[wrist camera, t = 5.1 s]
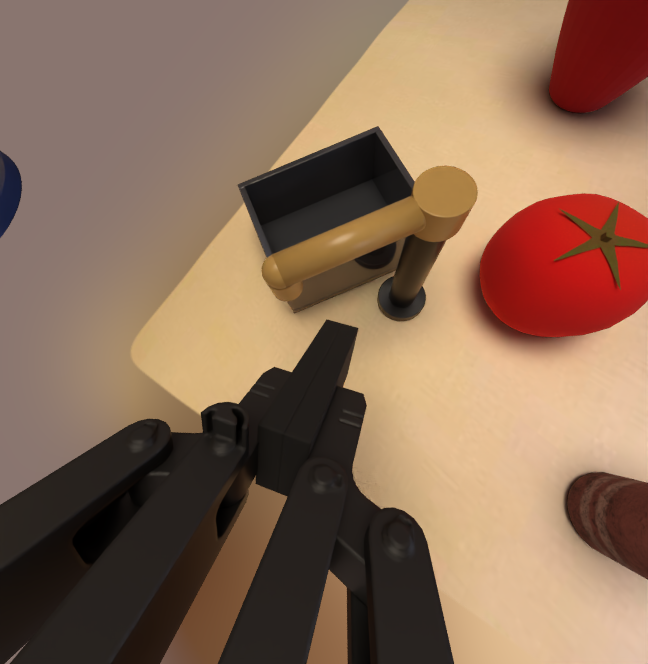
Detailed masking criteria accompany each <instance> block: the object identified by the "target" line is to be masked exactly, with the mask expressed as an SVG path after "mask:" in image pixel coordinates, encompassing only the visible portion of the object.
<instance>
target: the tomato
mask: <svg viewBox="0 0 648 664" xmlns="http://www.w3.org/2000/svg"><path fill="white" fill-rule="evenodd" d="M480 283H481V289H482V293H483V296H484V299H485V301H486V303H487V305H488V306H489V307H490V309H491V310H492V312H493V313H494V314H495V315H496V316H497V317H498V318H499V319H500V320H501V321H502V322H503V323H505V324H507V325H508V326H510V327H511V328H513V329H516V330H518V331H521V332H523V333H527V334H531V335H536V336H543V337H564V336H577V335H585V334H589V333H593V332H597V331H600V330H603V329H607V328H610V327H612V326H613V325H615V324H617V323H618V322H620V321H622V320H624V319H625V318H627V317H629V316H630V315H632V314H634V313H635V312H636V311H637V310H638V309H639V308H641V307H642V306H643V305H644V304H645V303H646V302H647V300H648V218H646V217H645V216H643V215H642V214H640V213H639V212H637V211H636V210H634V209H632V208H630V207H629V206H627V205H625V204H623V203H621V202H619V201H616V200H614V199H612V198H609V197H605V196H601V195H598V194H573V195H566V196H559V197H554V198H548V199H545V200H542V201H538V202H536V203H534V204H532V205H530V206H528V207H527V208H525V209H523V210H522V211H520V212H518V213H516V214H515V215H514V216H513V217H511V218H510V219H509V220H508V221H507V222H506V223H505V224H504V225H503V226H502V227H501V228H500V229H499V230H498V231H497V232H496V233H495V234H494V236H493V237H492V238H491V240H490V241H489V243H488V244H487V246H486V248H485V250H484V253H483V255H482V258H481V261H480Z"/></svg>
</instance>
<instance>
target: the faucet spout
mask: <svg viewBox="0 0 648 664" xmlns="http://www.w3.org/2000/svg"><path fill="white" fill-rule="evenodd" d="M477 193H478V192H477V186H476V183H475V181H474V180H473V178H472V177H471V176H470V175H469V174H468V173H466V172H465V171H463V170H461V169H459V168H456V167H451V166H438V167H433V168H431V169H428V170H426V171H425V172H423V173H422V174H421V175H420V176H419V177H418V178H417V179H416V181H415V183H414V186H413V189H412V193H411V196H410V197H407V198H405V199H402V200H400V201H398V202H395V203H393V204H391V205H388V206H386V207H383V208H381V209H379V210H376V211H374V212H372V213H369V214H367V215H364V216H362V217H360V218H357V219H355V220H353V221H350V222H348V223H346V224H343V225H341V226H338V227H336V228H334V229H331V230H329V231H327V232H324V233H322V234H319V235H317V236H315V237H312V238H310V239H308V240H305V241H303V242H300V243H298V244H296V245H293V246H291V247H289V248H286V249H284V250H281V251H279V252H277V253H274V254H272V255H270V256H269V257H267V258H266V260H265V261H264V263H263V266H262V276H263V278H264V280H265V281H266V283H267V285H268V286H269V287H270V289H271V290H272V292H273V293H274V295H275V296H276V297H277V298H278V299H279V300H282V301H292V300H294V299H296V298H297V297H299V295H300V294H301V293H302V290H303V282H302V281H303V280H306V279H308V278H311V277H313V276H315V275H318V274H320V273H322V272H325V271H327V270H329V269H332V268H334V267H336V266H339V265H341V264H344V263H346V262H348V261H351V260H353V259H355V258H358V257H360V256H362V255H365V254H367V253H369V252H372V251H374V250H377V249H379V248H381V247H384V246H386V245H388V244H391V243H393V242H395V241H398V240H400V239H403V238H405V237H407V236H410V235H412V234H414V235H415V236H417V237H418V238H420V239H422V240H425V241H430V242H440V241H444V240H447V239H449V238H451V237H453V236H454V235H455V234H456V233H457V232H458V231H459V230H460V228H461V226H462V225H463V223H464V221H465V219H466V218H467V216H468V214H469V212H470V211H471V209H472V207H473V205H474V204H475V202H476V199H477Z"/></svg>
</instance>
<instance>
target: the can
mask: <svg viewBox="0 0 648 664" xmlns="http://www.w3.org/2000/svg"><path fill="white" fill-rule="evenodd" d="M567 507H568V511H569V515H570V518H571V522H572V524H573V525H574V527H575V529H576V531H577V532H578V534H579V535H580V536H581V537H582V538H583V539H584V540H585V542H586V543H587V544H588V545H589V546H591V547H592V548H594V549H596V550H597V551H599V552H600V553H602V554H604V555H605V556H607V557H609V558H611V559H612V560H614V561H616V562H618V563H619V564H621V565H623V566H625V567H627V568H628V569H630V570H632V571H634V572H635V573H637V574H639V575H641V576H642V577H644V578H646V579H648V483H646V482H642V481H638V480H634V479H630V478H625V477H621V476H617V475H613V474H608V473H604V472H598V473H589V474H587V475H585V476H582V477H580V478H579V479H578V480H577V481H576V482H575V483H574V484H573V485H572V487H571V489H570V492H569V494H568V505H567Z"/></svg>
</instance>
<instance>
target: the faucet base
mask: <svg viewBox="0 0 648 664" xmlns="http://www.w3.org/2000/svg"><path fill="white" fill-rule="evenodd" d="M445 242H446V240H444V241H440V242H430V241H425V240H422V239H420V238H418V237H417V236H415V235H414V234H412V235H410V236H407V237H406V239H405V242H404V245H403V249H402V252H401V255H400V259H399V262H398V266H397V269H396V272H395V276H393V277H391V278H389V279H387V280H386V281H385V282H384V283H383V284H382V285H381V287H380V289H379V293H378V305H379V308H380V310H381V311H382V312H383V314H385V315H386V316H387V317H389V318H390V319H393V320H396V321H406V320H410V319H412V318H414V317H415V316H417V315H418V314H419V313H420V311H421V310H422V308H423V307H424V304H425V300H426V295H425V291H424V288H423V287H422V285H423V283H424V281H425V279H426V277H427V276H428V274H429V272H430V270H431V268H432V266H433V264H434V262H435V261H436V259H437V257H438V255H439V253H440V251H441V249H442V247H443V246H444V244H445Z"/></svg>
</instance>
